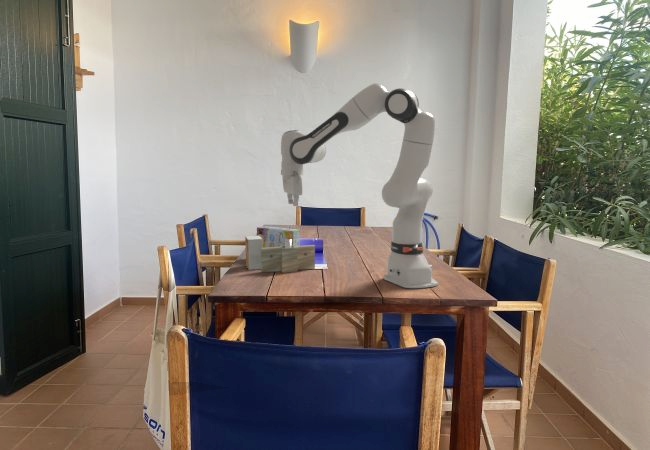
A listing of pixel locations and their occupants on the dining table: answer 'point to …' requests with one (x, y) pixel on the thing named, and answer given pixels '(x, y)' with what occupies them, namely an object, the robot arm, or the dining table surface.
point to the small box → (253, 252)
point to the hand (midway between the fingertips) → (293, 204)
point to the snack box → (278, 236)
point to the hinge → (287, 258)
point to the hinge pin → (288, 243)
